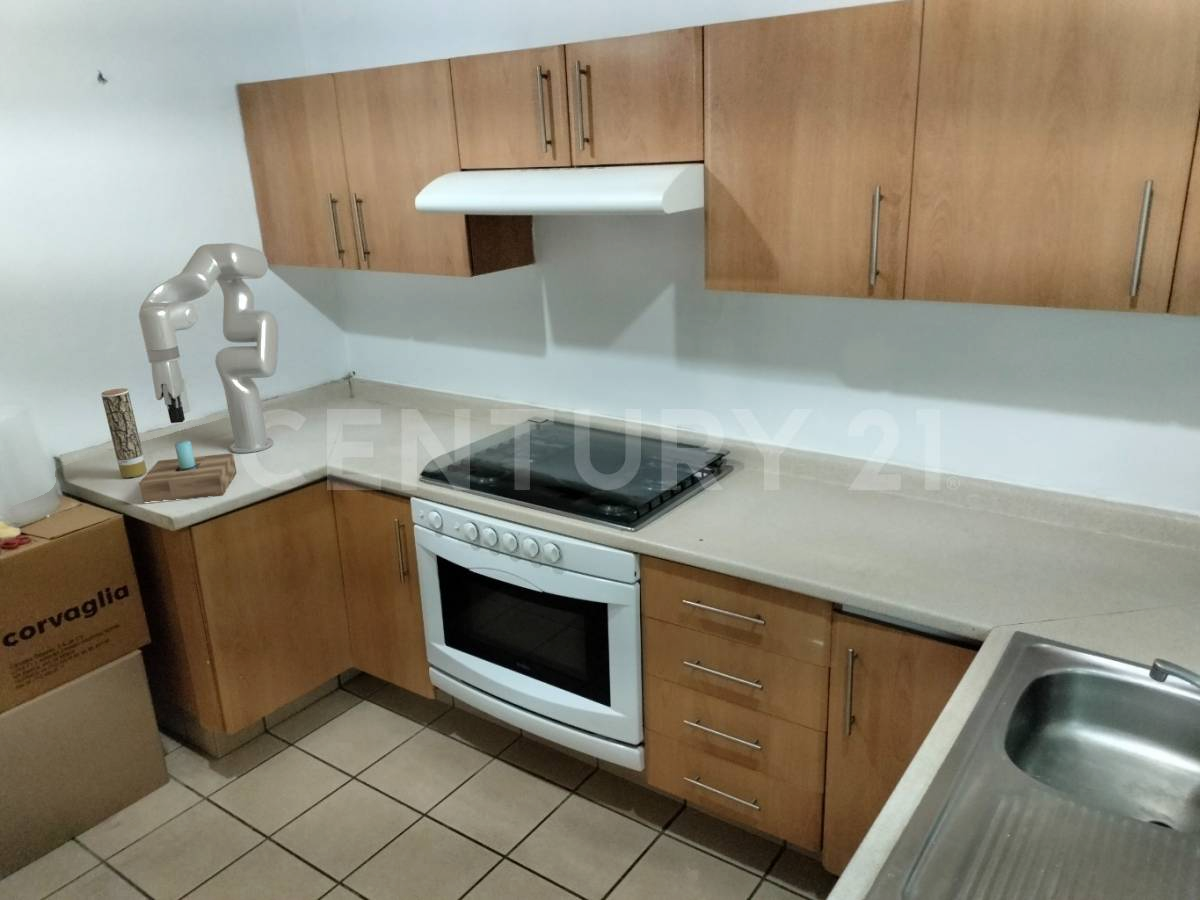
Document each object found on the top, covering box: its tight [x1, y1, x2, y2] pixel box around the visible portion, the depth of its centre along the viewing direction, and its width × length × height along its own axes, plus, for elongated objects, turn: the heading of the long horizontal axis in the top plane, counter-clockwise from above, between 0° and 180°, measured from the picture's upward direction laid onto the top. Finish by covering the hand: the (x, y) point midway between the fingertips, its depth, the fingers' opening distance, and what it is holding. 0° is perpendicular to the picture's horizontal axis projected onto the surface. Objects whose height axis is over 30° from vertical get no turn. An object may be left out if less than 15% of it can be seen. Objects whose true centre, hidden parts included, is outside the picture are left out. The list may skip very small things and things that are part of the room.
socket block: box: [138, 452, 238, 503], centre depth 247 cm, size 18×20×6 cm
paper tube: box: [101, 388, 147, 479], centre depth 257 cm, size 7×7×25 cm
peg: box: [174, 440, 196, 471], centre depth 246 cm, size 4×4×12 cm
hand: (177, 421), depth 242 cm, fingers closed
